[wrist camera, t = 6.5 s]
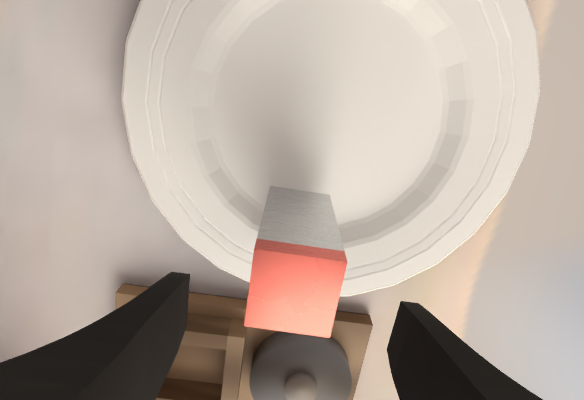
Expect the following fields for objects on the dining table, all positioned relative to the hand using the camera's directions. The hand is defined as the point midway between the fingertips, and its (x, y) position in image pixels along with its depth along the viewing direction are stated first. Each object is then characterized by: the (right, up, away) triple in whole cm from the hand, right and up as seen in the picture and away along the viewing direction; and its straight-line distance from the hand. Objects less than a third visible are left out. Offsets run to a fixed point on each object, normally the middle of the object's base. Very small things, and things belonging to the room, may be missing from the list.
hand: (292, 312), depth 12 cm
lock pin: (0, +3, +7) cm, 8 cm away
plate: (+2, +8, +8) cm, 12 cm away
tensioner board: (-3, -6, +12) cm, 14 cm away
